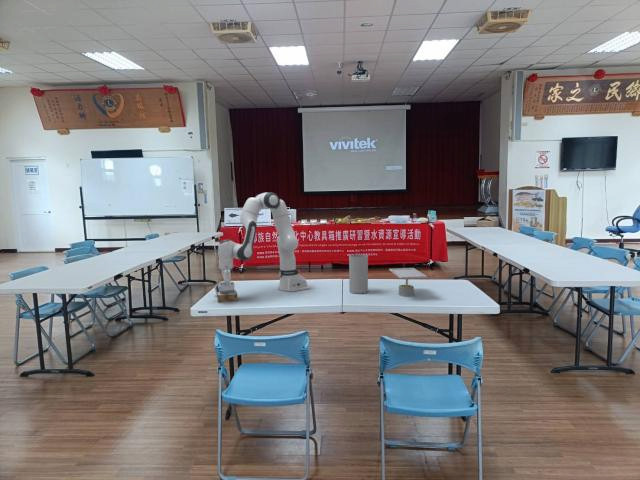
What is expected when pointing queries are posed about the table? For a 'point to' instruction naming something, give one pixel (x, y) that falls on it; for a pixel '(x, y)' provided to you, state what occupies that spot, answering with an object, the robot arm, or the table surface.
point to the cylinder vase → (358, 273)
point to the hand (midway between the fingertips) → (226, 286)
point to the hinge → (218, 287)
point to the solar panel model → (407, 273)
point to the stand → (227, 297)
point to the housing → (226, 290)
